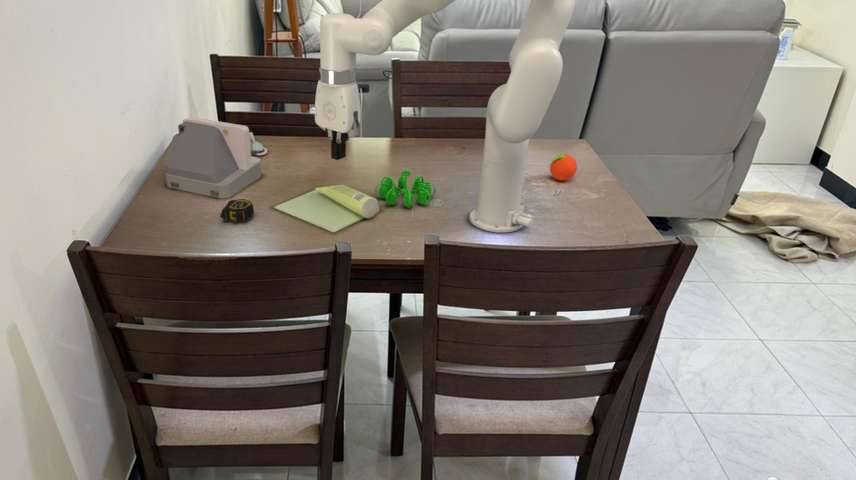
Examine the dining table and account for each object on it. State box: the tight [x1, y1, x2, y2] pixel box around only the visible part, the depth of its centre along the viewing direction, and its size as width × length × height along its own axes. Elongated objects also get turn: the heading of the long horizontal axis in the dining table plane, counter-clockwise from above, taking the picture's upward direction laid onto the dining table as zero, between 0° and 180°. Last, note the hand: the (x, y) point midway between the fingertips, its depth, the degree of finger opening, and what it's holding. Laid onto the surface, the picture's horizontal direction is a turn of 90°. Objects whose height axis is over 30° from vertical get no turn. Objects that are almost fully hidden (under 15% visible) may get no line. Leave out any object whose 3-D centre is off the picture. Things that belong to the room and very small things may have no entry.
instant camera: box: [165, 116, 262, 199], centre depth 173 cm, size 21×21×15 cm
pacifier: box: [249, 131, 268, 157], centre depth 194 cm, size 7×6×6 cm
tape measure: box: [219, 198, 255, 222], centre depth 157 cm, size 7×7×4 cm
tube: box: [314, 184, 380, 219], centre depth 163 cm, size 6×5×20 cm
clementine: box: [549, 153, 578, 181], centre depth 178 cm, size 8×7×7 cm
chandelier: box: [374, 170, 436, 209], centre depth 167 cm, size 15×15×7 cm
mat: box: [273, 189, 380, 233], centre depth 162 cm, size 20×16×1 cm
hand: (338, 157), depth 153 cm, fingers closed
